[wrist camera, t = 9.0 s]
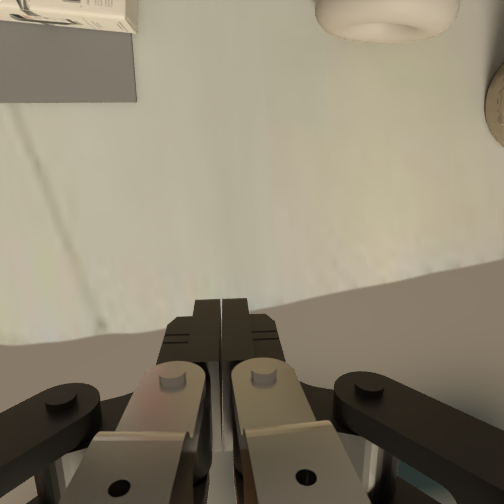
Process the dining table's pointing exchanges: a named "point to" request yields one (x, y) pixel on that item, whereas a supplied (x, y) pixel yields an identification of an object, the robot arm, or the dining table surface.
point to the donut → (385, 19)
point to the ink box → (74, 13)
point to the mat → (64, 64)
